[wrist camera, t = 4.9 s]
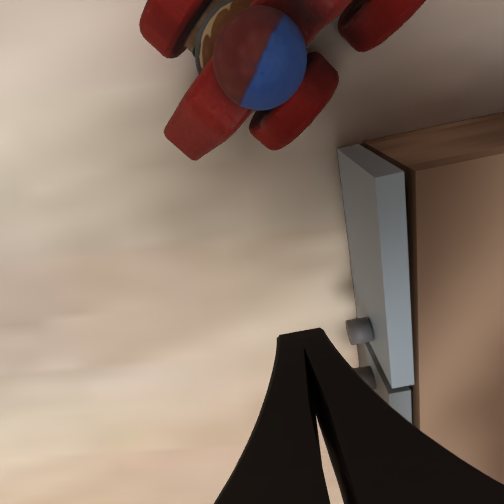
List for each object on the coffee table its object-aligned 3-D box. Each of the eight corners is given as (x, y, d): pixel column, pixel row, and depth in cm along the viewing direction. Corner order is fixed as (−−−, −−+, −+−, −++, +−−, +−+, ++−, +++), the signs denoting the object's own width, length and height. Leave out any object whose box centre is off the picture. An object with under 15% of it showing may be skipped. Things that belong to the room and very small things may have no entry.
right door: (357, 143, 18) (404, 171, 13) (374, 314, 22) (414, 384, 17) (313, 153, 18) (342, 184, 13) (338, 321, 22) (367, 393, 17)
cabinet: (578, 96, 18) (729, 107, 12) (530, 406, 26) (607, 494, 21) (314, 151, 18) (347, 185, 13) (351, 436, 27) (380, 529, 21)
